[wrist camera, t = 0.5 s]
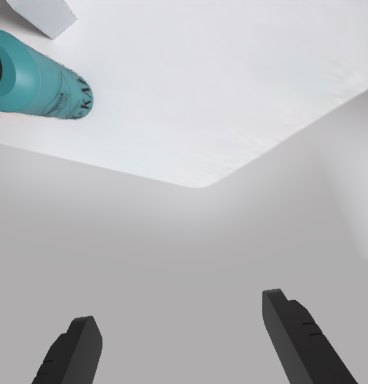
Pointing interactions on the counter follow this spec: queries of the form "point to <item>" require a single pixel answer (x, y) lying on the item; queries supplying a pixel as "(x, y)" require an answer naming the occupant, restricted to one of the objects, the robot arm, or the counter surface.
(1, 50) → the beverage bottle
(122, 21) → the counter surface
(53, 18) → the grey post
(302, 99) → the counter surface
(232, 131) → the counter surface
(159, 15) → the counter surface
